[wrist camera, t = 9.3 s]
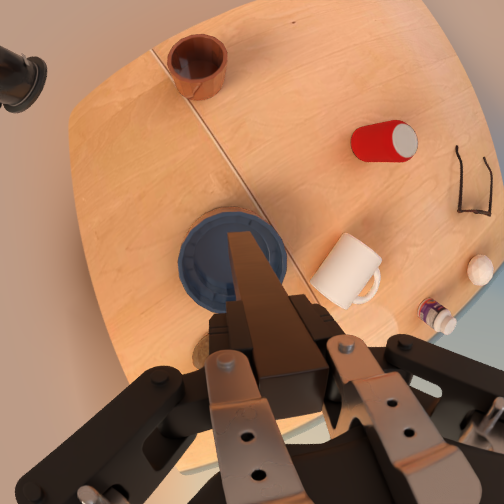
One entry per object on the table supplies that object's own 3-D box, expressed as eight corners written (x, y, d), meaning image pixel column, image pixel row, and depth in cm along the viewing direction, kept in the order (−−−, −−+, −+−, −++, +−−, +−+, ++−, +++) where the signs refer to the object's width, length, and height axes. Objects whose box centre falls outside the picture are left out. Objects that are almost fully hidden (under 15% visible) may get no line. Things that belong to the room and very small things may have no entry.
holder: (175, 102, 36) (166, 85, 27) (176, 61, 34) (169, 36, 25) (223, 99, 37) (227, 81, 28) (223, 58, 35) (227, 33, 26)
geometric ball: (465, 267, 57) (477, 292, 53) (459, 263, 53) (474, 291, 48) (485, 251, 52) (498, 276, 48) (481, 245, 48) (497, 272, 43)
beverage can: (341, 141, 41) (381, 135, 30) (363, 120, 41) (405, 110, 29) (363, 169, 43) (406, 171, 32) (383, 147, 42) (428, 145, 31)
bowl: (187, 300, 45) (184, 318, 39) (178, 209, 41) (173, 215, 35) (276, 293, 47) (285, 310, 41) (277, 204, 43) (287, 209, 37)
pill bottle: (435, 298, 54) (461, 316, 45) (426, 318, 56) (451, 338, 46) (423, 295, 53) (450, 314, 44) (413, 316, 54) (438, 337, 45)
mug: (303, 275, 47) (320, 294, 39) (336, 227, 45) (359, 238, 38) (348, 304, 50) (368, 325, 43) (379, 262, 49) (403, 277, 41)
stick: (228, 254, 24) (259, 423, 7) (227, 232, 24) (258, 378, 7) (251, 253, 25) (322, 412, 7) (250, 230, 24) (330, 366, 7)
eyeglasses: (450, 210, 48) (466, 214, 43) (453, 144, 44) (469, 144, 39) (482, 214, 50) (496, 218, 46) (485, 156, 46) (499, 158, 41)
